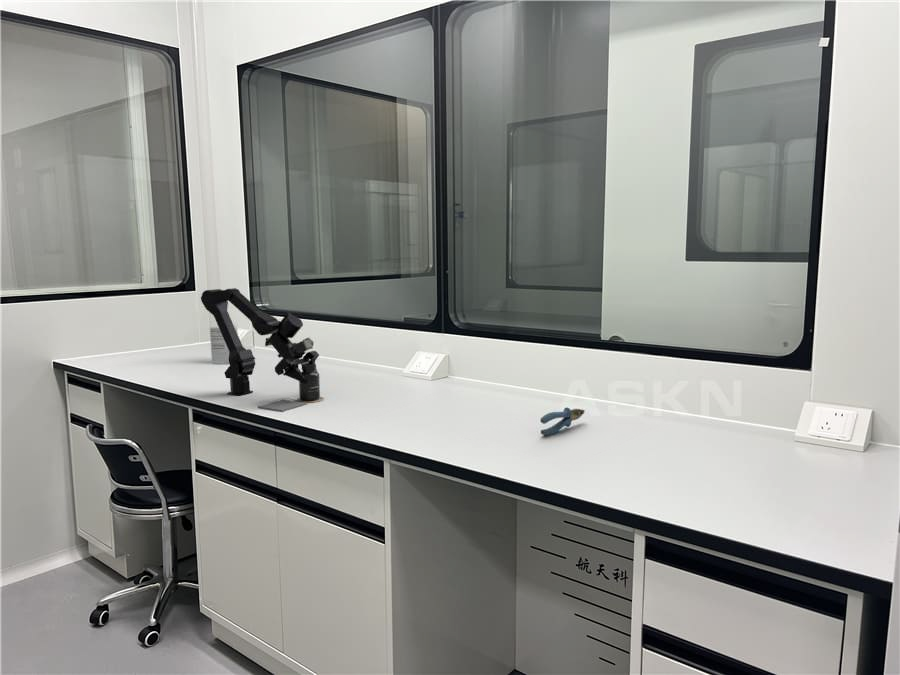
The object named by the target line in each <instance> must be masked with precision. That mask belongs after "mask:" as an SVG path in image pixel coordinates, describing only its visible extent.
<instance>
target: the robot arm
mask: <svg viewBox="0 0 900 675" xmlns="http://www.w3.org/2000/svg"><path fill="white" fill-rule="evenodd" d="M200 301H201V303H202V305H203V307H204V308H205V310H206V311H207V312H208V313H210V314H211V315H213V318H214V319H215V322H216V324H217V326H218V327H219V329H220V331H221V334H222V336H223V338H224V341H225V343H226V345H227V347H228V350H229V364H228V365H229V366H228V367H227V369H226V370H225V371H224V373H223V374H224V376H225V378H226V379H229V385H230V391H228V392H227V395H233V396H243V395H244V396H245V395H248V394H251V393H254V391H253V390H251V386H250V385H251V384H250V379H249V376H251V375H253V373H254V369H255V366H256V357H255V356H254V355H253V351H252V349H250V348H248V349H246V348H245V347H244V346H243V343H242V342H241V339H240V337H239V333H238V334H237V332H236V330H235V327H234V325H235V324H234V323H233V320H232V319H231V316H230V314H229V312H228V307H229V303H230V304H232V305H233V306H234V307H235V308H236V309H237V310H238V311H239V312H240V313H242V314H243V316H245V317H246V318H247V319H248V320H249V321H250V322H251V325H252V328H253V329H254V330H255V332H256V333H257V334H258V335H259V336H269V335H270V336H269V337H266V338H265V342H264V343H265V344H264V346H265V347H269V346H272V348H274V349H275V351H276V352H277V353H278V354H277V357H278V359H280V358H281V359H280V360H279V362H278V363H277V364H276V365H275V367H274V372H275V373H276V374H277V376H280V375H283V376H286V377H288V378H290V379H294V380H296V381H298V382H299V381H300V382H302V383H304V384H306V383H307V380H306V378H305V377H304V375H303V374H302V373H301V372H302V370H300V368H299V365H301V366H302V364H306V363H314V364H316V360H317V359H319V357H320V354H319V353H318V352H317V351H316V350H311V351H308V350H310V349H313V348H314V347H313V346H314V343H315V342H314V341H313V340H312V339H311V338H310V337H305V339H302V340H301V341H299V342H292V341H291V340H290V339H292V338H294V337H295V336H296V335H297V334H298V332H299V331H300V330H301V329H302V327H303V326H304V323H303V321H302V319H301V318H299V317H297V316H295V315H293V314H292V313H291V312H288V313H286V314H285V315H284V317H283V318H282V319H281V320H278V319H277V318H276V317H274V316H272V315H271V314H269V313H266V312H264V311H262V310H260V309H259V308H258V307H257V306H256V305H255V304H254V303H252V302H251V300H249V299H248V298H247V297H246V296H245V295H244V294H242V293H241V291H240V290H239V289H238V288H236V287H234V288H233V287H232V288H227V289H220V288H217V289H216V288H215V289H207V290H204V291H203V292H202V293H201V296H200ZM316 371H317V372H318V369H317V368H316ZM320 378H321V376H319V379H320Z"/></svg>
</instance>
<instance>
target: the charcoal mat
mask: <svg viewBox="0 0 900 675" xmlns="http://www.w3.org/2000/svg"><path fill="white" fill-rule="evenodd" d="M307 404H308V403H303V402H297V400H296V401H295V400H288V399H280V400H277V401H273V402H268V403H265V404H262V405H258V406H257V408H258V409H261V410H263V409H264V410H269V411H274V412H275V411H276V412H281V413H282V412H286V411H290V410H294V409H297V408H299V407H302V406H306V405H307Z"/></svg>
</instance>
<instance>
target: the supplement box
mask: <svg viewBox="0 0 900 675" xmlns="http://www.w3.org/2000/svg"><path fill="white" fill-rule="evenodd" d="M233 325H234V327H235V330H236V332H237V334H238V335H239V329H238V328H239V327H238V325H237V324H233ZM209 336H210V337H209V339H210V340H209V341H210V351H211V352H210V353H211V354H210V355H211V363H213V364H212V365H230V364H229V350H228V347H227V345H226V343H225V341H224V338H223V336H222V334H221V331H220V329H219V327H218V325H214V326H210V327H209ZM214 363H215V364H214Z"/></svg>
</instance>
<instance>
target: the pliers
mask: <svg viewBox="0 0 900 675" xmlns="http://www.w3.org/2000/svg"><path fill="white" fill-rule="evenodd" d="M584 414H585V410H584V409H580V408H573V409H570V408H569V407H565V408H564V409H563V411H552V412H549V413H546V414H544V415H542V416H541V418H540V423H541V424H547V423H548V422H550V421H552V420H556V419H561V420H559V421H558V422H557V423H555V424H553V425H552V426H550V427H548V428H545V429H541V430H540V434H541V435H542V436H550V435H553V434H556V433H557V432H559V431H560V430H561V429H563V428H564V427H567V428H569V427H570V426H571V425H572V422H573V421H577V420H578V419H580V418H581V417H582V416H583V415H584Z"/></svg>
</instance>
